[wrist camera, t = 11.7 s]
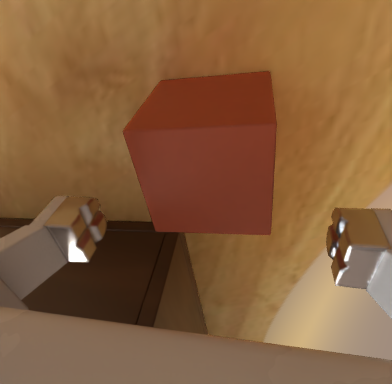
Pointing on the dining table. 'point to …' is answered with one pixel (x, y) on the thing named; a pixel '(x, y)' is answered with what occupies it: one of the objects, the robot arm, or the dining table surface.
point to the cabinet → (124, 280)
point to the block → (207, 154)
